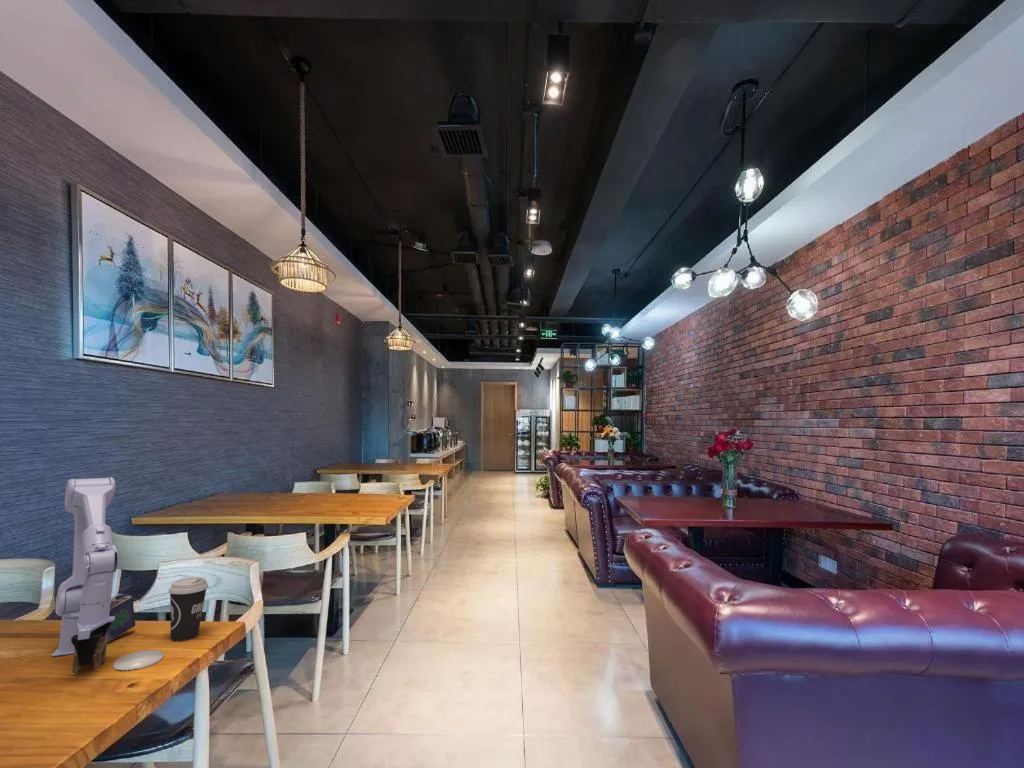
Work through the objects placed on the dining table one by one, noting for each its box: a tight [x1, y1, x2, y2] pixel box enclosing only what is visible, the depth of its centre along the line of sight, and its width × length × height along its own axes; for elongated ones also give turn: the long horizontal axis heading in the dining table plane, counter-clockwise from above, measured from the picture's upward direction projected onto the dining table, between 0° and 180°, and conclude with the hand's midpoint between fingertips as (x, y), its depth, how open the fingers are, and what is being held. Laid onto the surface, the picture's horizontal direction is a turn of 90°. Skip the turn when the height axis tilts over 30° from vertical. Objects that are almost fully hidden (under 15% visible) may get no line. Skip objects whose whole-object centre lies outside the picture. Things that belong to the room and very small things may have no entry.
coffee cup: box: [167, 576, 209, 642], centre depth 137 cm, size 10×10×15 cm
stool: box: [71, 636, 108, 674], centre depth 118 cm, size 5×5×6 cm
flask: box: [105, 595, 137, 644], centre depth 134 cm, size 9×3×11 cm, turn 168°
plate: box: [112, 649, 164, 672], centre depth 121 cm, size 10×10×1 cm
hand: (89, 659), depth 118 cm, fingers open, 6 cm apart
